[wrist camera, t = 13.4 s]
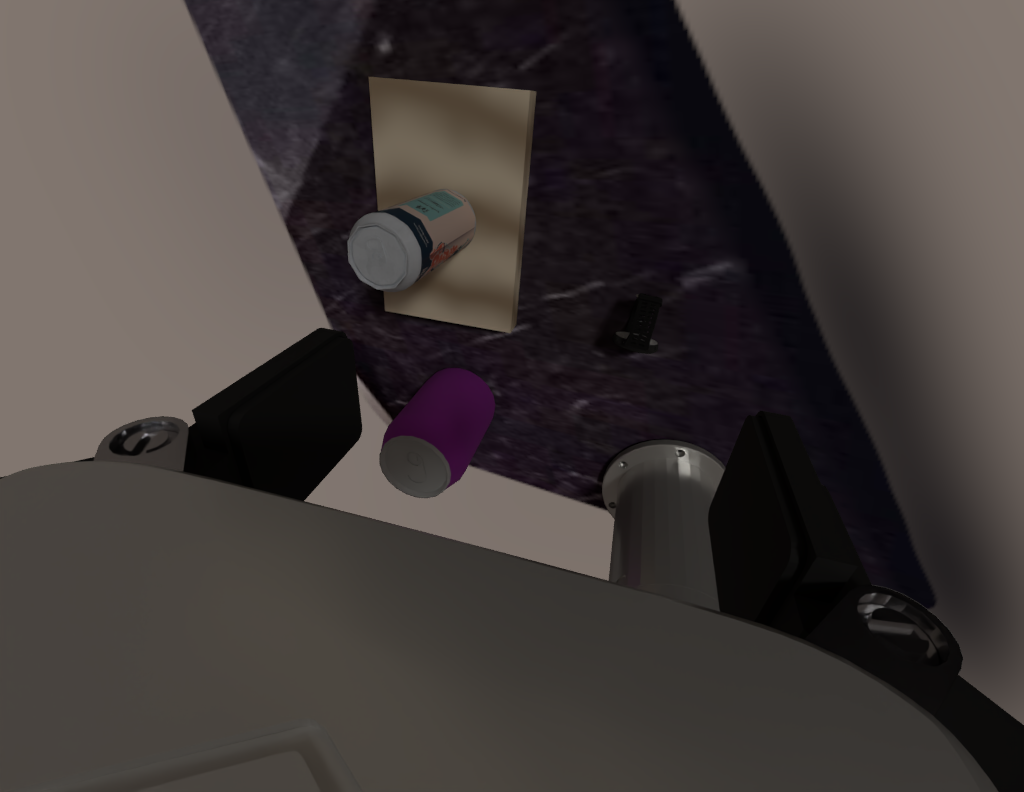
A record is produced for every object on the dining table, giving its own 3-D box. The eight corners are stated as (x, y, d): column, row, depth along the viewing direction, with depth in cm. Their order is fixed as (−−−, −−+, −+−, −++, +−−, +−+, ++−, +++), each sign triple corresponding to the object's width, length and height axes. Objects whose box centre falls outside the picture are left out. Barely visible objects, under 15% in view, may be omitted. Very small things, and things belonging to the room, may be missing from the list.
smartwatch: (606, 322, 41) (601, 346, 37) (645, 274, 38) (644, 294, 34) (645, 349, 42) (644, 375, 37) (686, 303, 39) (690, 326, 35)
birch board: (515, 324, 43) (510, 333, 42) (394, 303, 46) (385, 310, 44) (536, 91, 34) (530, 90, 32) (381, 78, 36) (368, 76, 34)
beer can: (430, 253, 40) (355, 300, 30) (415, 192, 38) (329, 221, 28) (483, 246, 39) (423, 293, 29) (471, 183, 36) (401, 210, 26)
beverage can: (424, 358, 48) (364, 423, 38) (498, 368, 46) (455, 439, 36) (430, 422, 52) (377, 495, 42) (498, 433, 50) (459, 512, 40)
